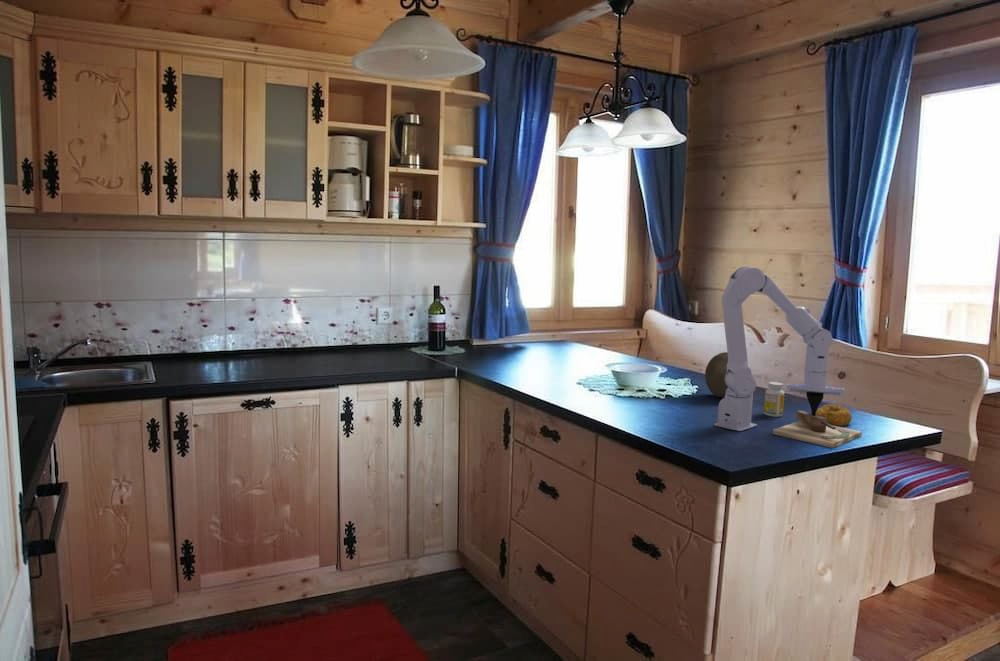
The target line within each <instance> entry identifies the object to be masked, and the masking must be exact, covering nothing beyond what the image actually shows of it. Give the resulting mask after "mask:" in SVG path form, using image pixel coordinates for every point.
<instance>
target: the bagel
mask: <svg viewBox="0 0 1000 661" xmlns="http://www.w3.org/2000/svg"><path fill="white" fill-rule="evenodd" d="M816 416H820V417H825V418H827V423H828V424H830V425H832V426H837V427H844V426H846V425H847V426H848V425H849V424H850V423H851V421H852V419H853V416H852V413H851V411H850V410H848V409H847V408H846V407H845V406H842V405H839V404H824V405H823V406H821V407H818V408H817V411H816Z"/></svg>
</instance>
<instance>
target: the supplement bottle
mask: <svg viewBox="0 0 1000 661" xmlns="http://www.w3.org/2000/svg"><path fill="white" fill-rule="evenodd" d="M767 387H768V389H767V388H766V390H765V392H764V405H763V415H765V416H768V417H774V418H778V417H782V416H784V415H783V413H784V404H785V403H784V402H785V391H784V390H783V387H784V383H782V382H779V381H778V382H777V381H769V382H768V385H767Z"/></svg>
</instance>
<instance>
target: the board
mask: <svg viewBox="0 0 1000 661" xmlns="http://www.w3.org/2000/svg"><path fill="white" fill-rule="evenodd" d="M833 426H834V425H833ZM834 427H836V429H831V428H829V427H827V426H826V431H824V432H819V431H813V430H810V426H809V425H807V424H805V423H803V422H801V421H799V420H797V421H794V422H792V423H790V424H789V423H788V424H785V425H783V426H780V427H776V428H774V429H772V435H776V436H781V437H783V438H788V439H792V440H798V441H801V442H805V443H810V444H814V445H818V446H824V447H827V448H831V449H834V448H836V447H839V446H841V445H843V444H846V443H848V441H849V442H851V441H853V440H855V438H856V439H858V438H860V437H862V435H863V431H860V430H855V429H851V428H846V427H843V426H834ZM857 437H858V438H857ZM850 440H851V441H850Z"/></svg>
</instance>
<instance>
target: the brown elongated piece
mask: <svg viewBox="0 0 1000 661" xmlns="http://www.w3.org/2000/svg"><path fill="white" fill-rule="evenodd" d="M795 420H797V421H801V422H803V423H805V424H807V425H809V426H810V430H813V431H819V432H824V431H826V426H827V427H829V428H831V429H836V427H834V425H830V424H828V423H827V418H825V417H820V416H813V415H811V413H809V412H807V411H804V410H796V418H795Z"/></svg>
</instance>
